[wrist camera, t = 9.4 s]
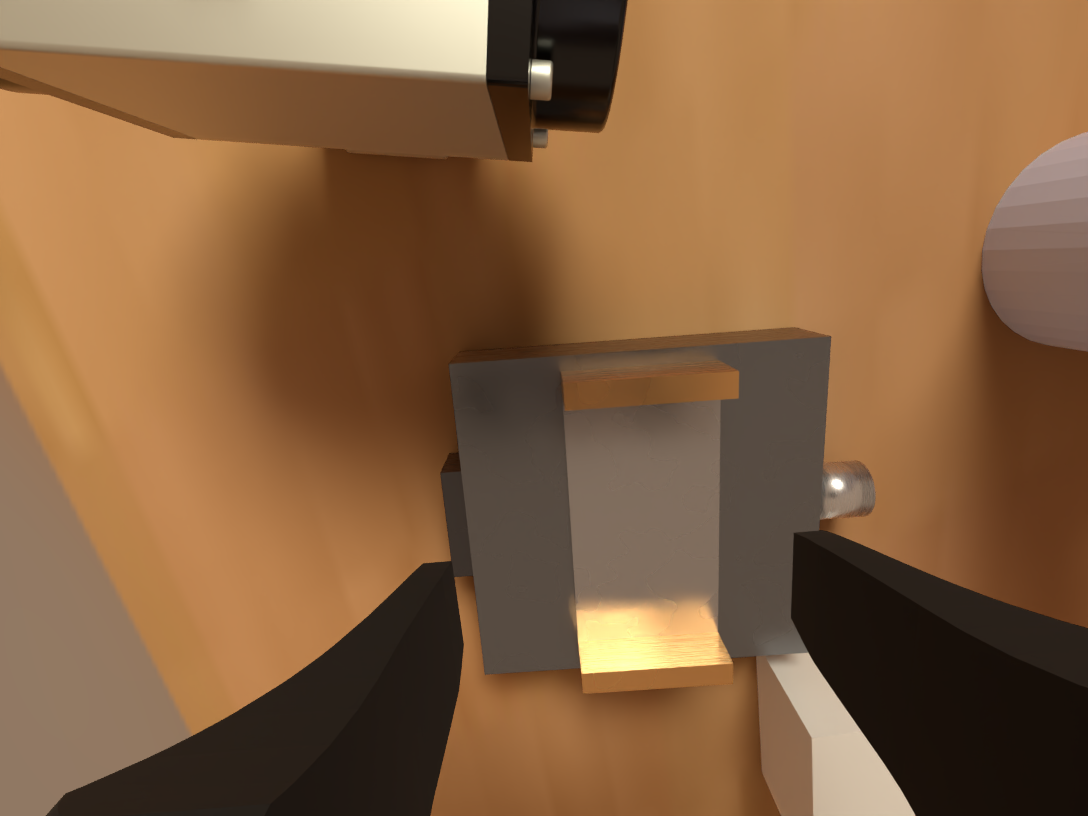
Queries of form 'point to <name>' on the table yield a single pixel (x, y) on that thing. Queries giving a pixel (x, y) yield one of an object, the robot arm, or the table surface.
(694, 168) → the table surface
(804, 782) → the block
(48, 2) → the pneumatic valve
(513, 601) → the motor housing
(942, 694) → the robot arm
